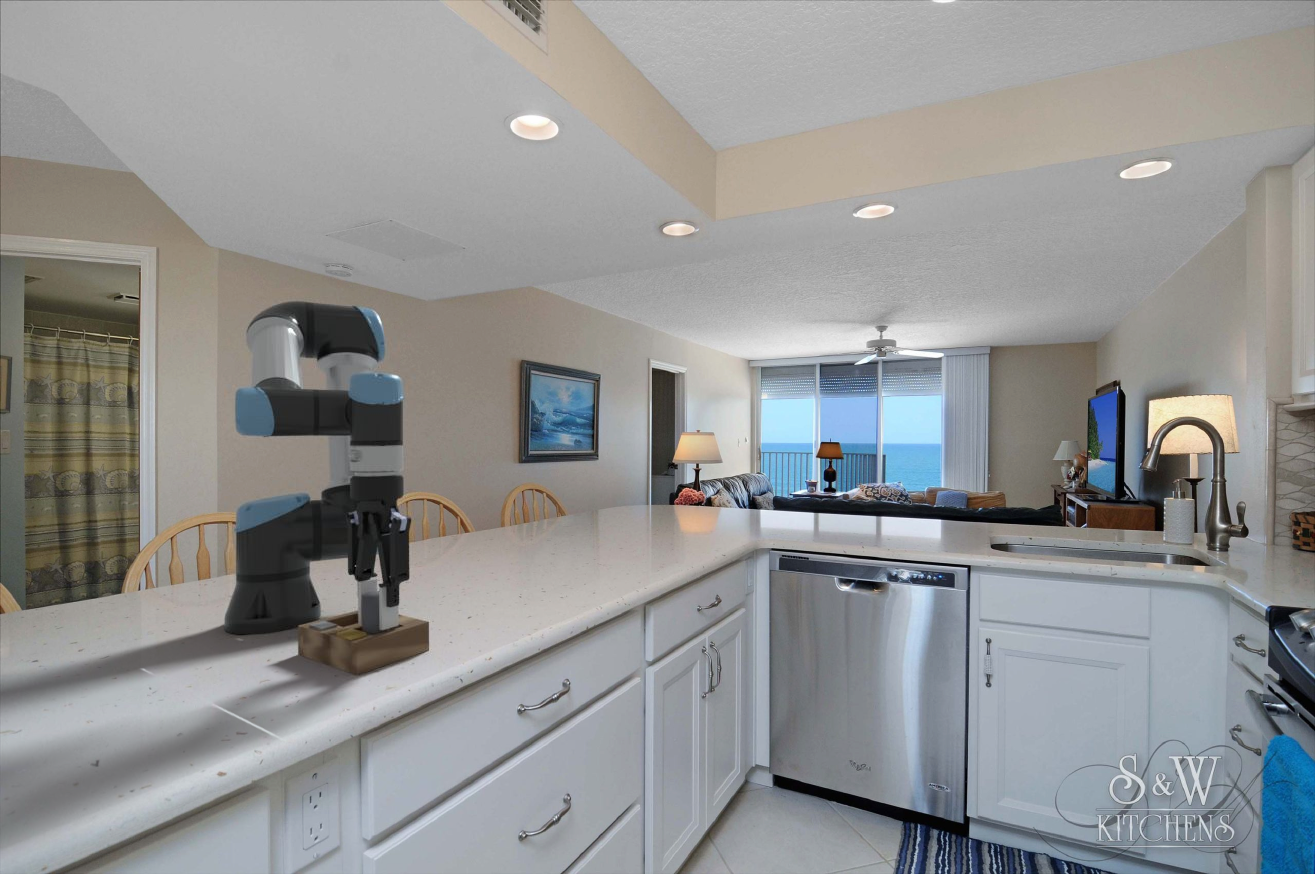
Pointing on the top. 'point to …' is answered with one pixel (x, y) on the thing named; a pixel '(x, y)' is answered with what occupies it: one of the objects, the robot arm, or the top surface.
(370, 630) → the plug
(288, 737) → the top surface
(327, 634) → the socket board
